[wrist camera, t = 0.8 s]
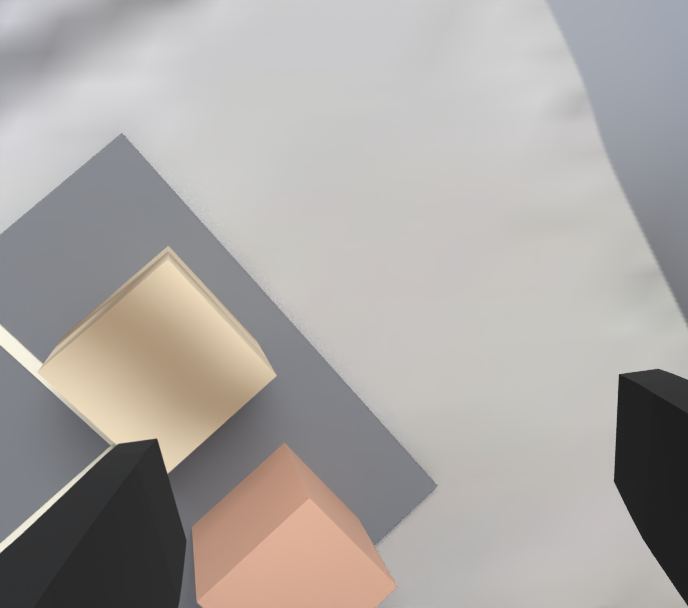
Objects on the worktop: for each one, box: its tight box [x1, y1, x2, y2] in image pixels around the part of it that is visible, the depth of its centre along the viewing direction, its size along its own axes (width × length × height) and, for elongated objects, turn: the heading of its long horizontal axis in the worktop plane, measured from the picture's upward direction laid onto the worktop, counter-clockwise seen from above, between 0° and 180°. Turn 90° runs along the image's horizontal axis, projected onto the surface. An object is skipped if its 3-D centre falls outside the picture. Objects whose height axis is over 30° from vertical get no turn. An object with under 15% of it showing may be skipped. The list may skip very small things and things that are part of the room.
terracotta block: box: [192, 443, 397, 608], centre depth 25 cm, size 5×5×5 cm
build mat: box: [0, 133, 437, 608], centre depth 25 cm, size 19×20×1 cm
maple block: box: [37, 246, 277, 474], centre depth 22 cm, size 5×5×5 cm
